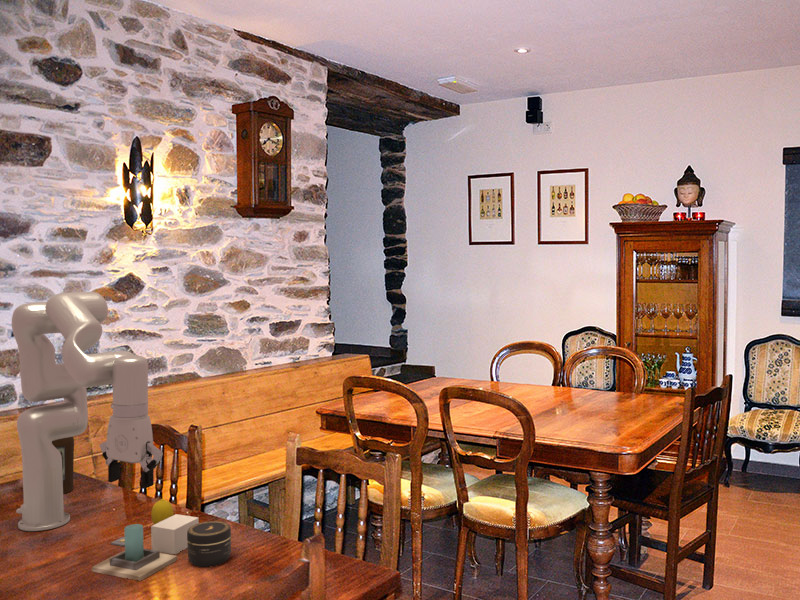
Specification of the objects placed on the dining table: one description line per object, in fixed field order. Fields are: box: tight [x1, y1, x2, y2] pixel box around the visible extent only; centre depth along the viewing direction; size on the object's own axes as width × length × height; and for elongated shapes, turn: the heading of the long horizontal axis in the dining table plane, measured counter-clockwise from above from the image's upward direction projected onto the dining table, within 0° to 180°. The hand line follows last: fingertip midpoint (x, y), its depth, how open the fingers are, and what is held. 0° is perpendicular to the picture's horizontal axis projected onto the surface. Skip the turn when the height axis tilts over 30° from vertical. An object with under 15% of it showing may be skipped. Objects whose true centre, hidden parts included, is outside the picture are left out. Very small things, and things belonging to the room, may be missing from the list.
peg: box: [123, 523, 145, 562], centre depth 165 cm, size 4×4×8 cm
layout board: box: [91, 548, 178, 582], centre depth 165 cm, size 14×12×2 cm
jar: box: [187, 520, 232, 568], centre depth 168 cm, size 10×10×8 cm
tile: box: [110, 536, 125, 547], centre depth 179 cm, size 4×4×1 cm
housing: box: [150, 513, 200, 555], centre depth 176 cm, size 7×9×6 cm
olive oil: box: [52, 436, 75, 495], centre depth 221 cm, size 11×11×25 cm
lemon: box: [150, 498, 175, 525], centre depth 188 cm, size 6×6×8 cm
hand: (130, 483), depth 165 cm, fingers open, 9 cm apart
